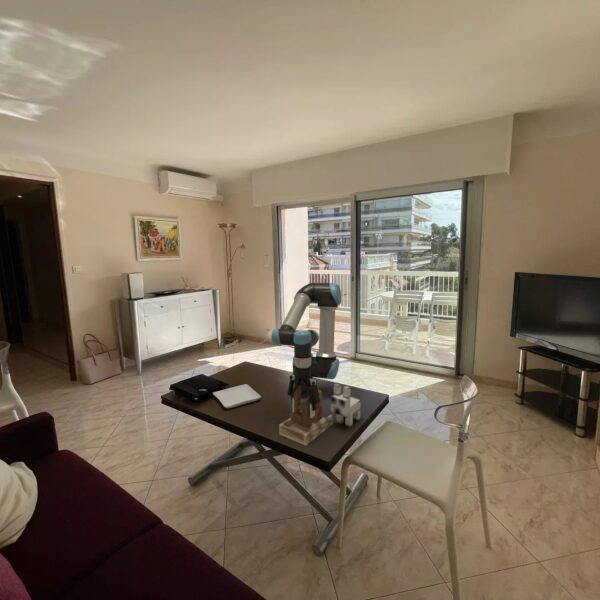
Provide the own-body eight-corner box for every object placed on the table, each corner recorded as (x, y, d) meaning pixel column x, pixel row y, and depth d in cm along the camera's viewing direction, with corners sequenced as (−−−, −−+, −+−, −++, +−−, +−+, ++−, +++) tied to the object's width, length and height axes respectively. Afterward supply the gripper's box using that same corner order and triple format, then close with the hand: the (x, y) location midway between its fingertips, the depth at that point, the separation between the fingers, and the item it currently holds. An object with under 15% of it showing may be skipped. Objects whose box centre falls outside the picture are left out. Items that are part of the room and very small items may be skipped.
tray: (307, 414, 162) (307, 406, 161) (332, 423, 153) (332, 415, 152) (279, 434, 144) (278, 425, 143) (305, 445, 135) (305, 436, 135)
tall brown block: (315, 415, 157) (315, 389, 155) (322, 418, 155) (322, 391, 153) (308, 420, 152) (308, 393, 151) (315, 423, 150) (315, 395, 148)
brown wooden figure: (306, 429, 141) (307, 391, 138) (290, 419, 148) (291, 382, 145) (312, 425, 143) (313, 388, 140) (296, 416, 151) (296, 380, 148)
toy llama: (362, 416, 159) (363, 378, 156) (344, 431, 146) (344, 390, 143) (349, 412, 164) (350, 375, 161) (330, 426, 150) (330, 386, 148)
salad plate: (225, 412, 165) (225, 406, 165) (212, 397, 183) (212, 391, 182) (262, 402, 177) (262, 396, 176) (246, 388, 194) (246, 383, 194)
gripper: (278, 363, 145) (279, 410, 147) (318, 372, 132) (319, 424, 134) (288, 359, 151) (289, 404, 153) (328, 367, 138) (328, 417, 140)
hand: (303, 413), depth 144 cm, fingers closed on brown wooden figure, 9 cm apart
